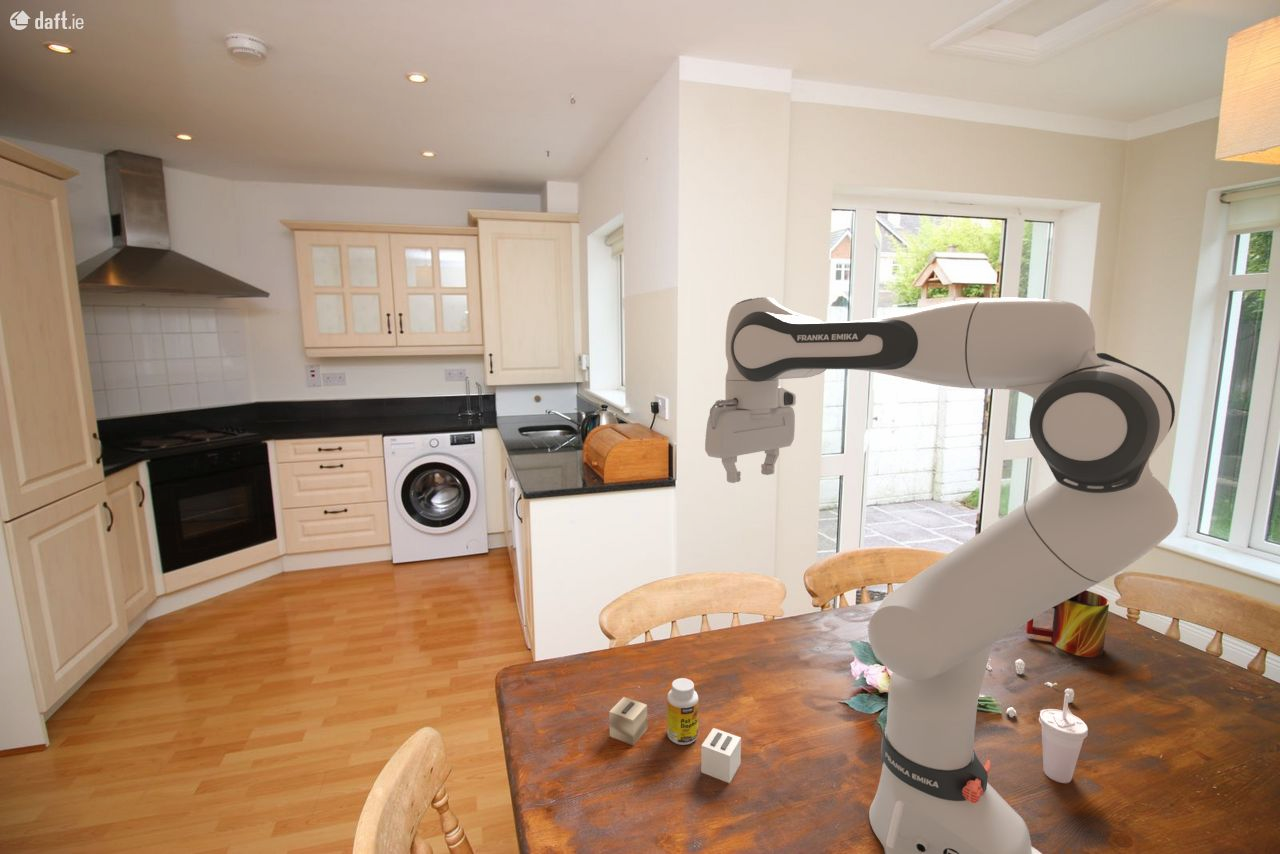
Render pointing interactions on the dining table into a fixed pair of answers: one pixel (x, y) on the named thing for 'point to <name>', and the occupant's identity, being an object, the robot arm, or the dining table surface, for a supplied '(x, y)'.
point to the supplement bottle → (682, 712)
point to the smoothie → (1061, 742)
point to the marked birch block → (628, 720)
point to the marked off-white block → (721, 755)
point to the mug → (1078, 625)
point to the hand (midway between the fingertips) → (751, 478)
